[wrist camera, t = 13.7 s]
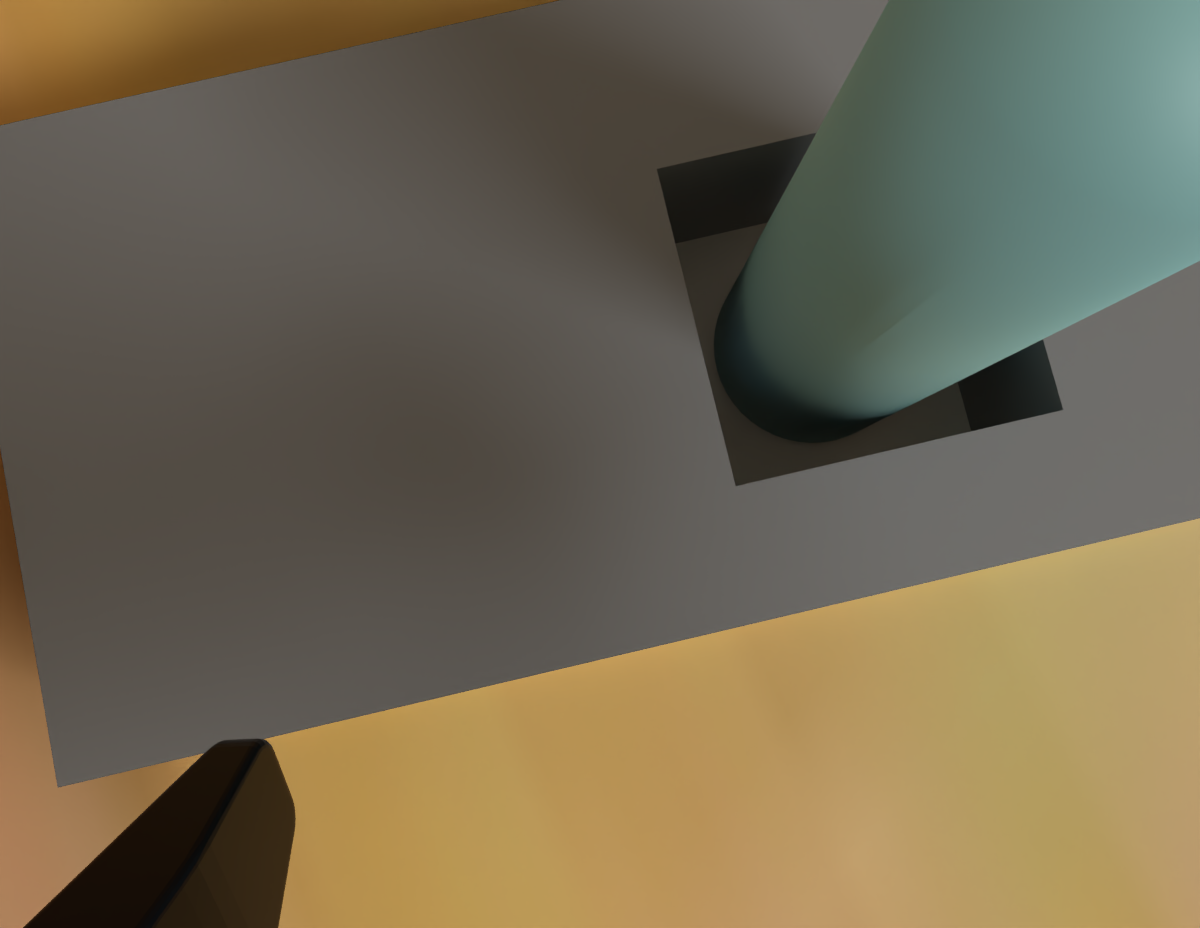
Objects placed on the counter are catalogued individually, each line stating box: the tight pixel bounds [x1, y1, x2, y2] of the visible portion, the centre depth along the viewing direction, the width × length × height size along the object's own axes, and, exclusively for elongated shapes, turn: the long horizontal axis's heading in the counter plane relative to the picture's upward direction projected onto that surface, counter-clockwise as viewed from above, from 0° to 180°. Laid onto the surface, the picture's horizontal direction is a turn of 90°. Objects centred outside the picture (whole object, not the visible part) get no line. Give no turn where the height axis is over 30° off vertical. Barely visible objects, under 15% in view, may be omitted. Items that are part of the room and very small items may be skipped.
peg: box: [714, 0, 1200, 443], centre depth 14 cm, size 4×4×13 cm
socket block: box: [0, 0, 1200, 787], centre depth 19 cm, size 10×20×4 cm, turn 103°
